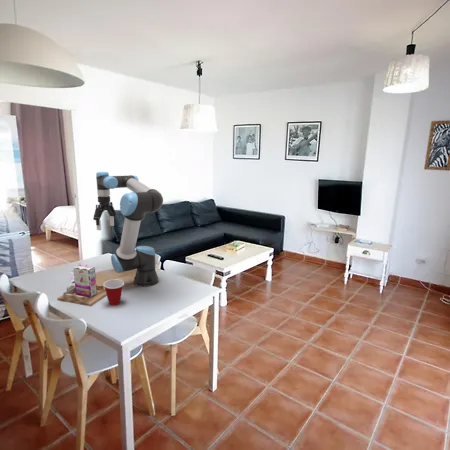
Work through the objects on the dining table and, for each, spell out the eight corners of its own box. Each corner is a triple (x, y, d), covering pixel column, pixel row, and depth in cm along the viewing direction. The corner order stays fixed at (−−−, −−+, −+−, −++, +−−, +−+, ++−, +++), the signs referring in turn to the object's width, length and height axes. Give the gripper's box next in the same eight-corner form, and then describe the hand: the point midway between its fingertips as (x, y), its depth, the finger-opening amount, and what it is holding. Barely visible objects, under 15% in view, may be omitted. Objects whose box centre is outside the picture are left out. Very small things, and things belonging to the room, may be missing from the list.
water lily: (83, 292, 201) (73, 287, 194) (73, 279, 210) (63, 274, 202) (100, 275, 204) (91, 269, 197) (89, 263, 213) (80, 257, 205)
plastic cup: (114, 309, 166) (112, 288, 164) (100, 304, 172) (98, 284, 169) (129, 301, 176) (128, 281, 173) (115, 297, 181) (114, 277, 178)
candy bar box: (97, 294, 181) (95, 267, 178) (90, 297, 177) (88, 270, 173) (81, 291, 185) (79, 264, 181) (75, 294, 180) (72, 267, 177)
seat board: (111, 292, 187) (111, 284, 185) (90, 306, 170) (90, 297, 169) (80, 287, 193) (79, 279, 191) (57, 300, 176) (56, 291, 174)
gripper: (110, 193, 218) (112, 223, 222) (85, 198, 194) (88, 231, 199) (120, 194, 216) (121, 224, 220) (96, 198, 192) (98, 232, 197)
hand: (105, 227), depth 210 cm, fingers open, 13 cm apart
